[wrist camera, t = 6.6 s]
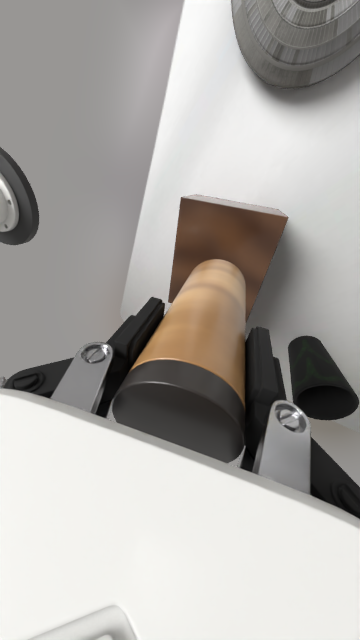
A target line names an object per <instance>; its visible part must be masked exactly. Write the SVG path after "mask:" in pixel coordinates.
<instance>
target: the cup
mask: <svg viewBox="0 0 360 640" xmlns="http://www.w3.org/2000/svg"><path fill="white" fill-rule="evenodd" d="M288 353H289V363H290V374H291V384H292V395H293V403H294V405H296V406H298V407H299V408H300V409H301V410H302V411H303V412H304V413H305V415H306V416H308V417H310V418H314V419H319V420H336V419H340V418H344V417H346V416H349V415H350V414H352V413H353V412H354V411H355V410H356V409H357V408H358V405H359V399H358V397H357V395H356V394H355V392H354V391H353V389H352V388H351V386H350V385H349V383H348V382H347V380H346V379H345V377H344V376H343V374H342V373H341V371H340V370H339V368H338V367H337V365H336V364H335V362H334V361H333V359H332V358H331V356H330V355H329V353H328V352H327V350H326V349H325V347H324V346H323V344H322V343H321V341H320V340H318V339H317V338H315V337H312V336H301V337H298V338H296V339H294V340H293V341H291V343H290V344H289V346H288Z"/></svg>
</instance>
